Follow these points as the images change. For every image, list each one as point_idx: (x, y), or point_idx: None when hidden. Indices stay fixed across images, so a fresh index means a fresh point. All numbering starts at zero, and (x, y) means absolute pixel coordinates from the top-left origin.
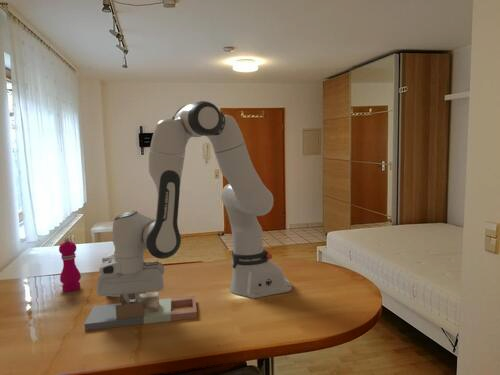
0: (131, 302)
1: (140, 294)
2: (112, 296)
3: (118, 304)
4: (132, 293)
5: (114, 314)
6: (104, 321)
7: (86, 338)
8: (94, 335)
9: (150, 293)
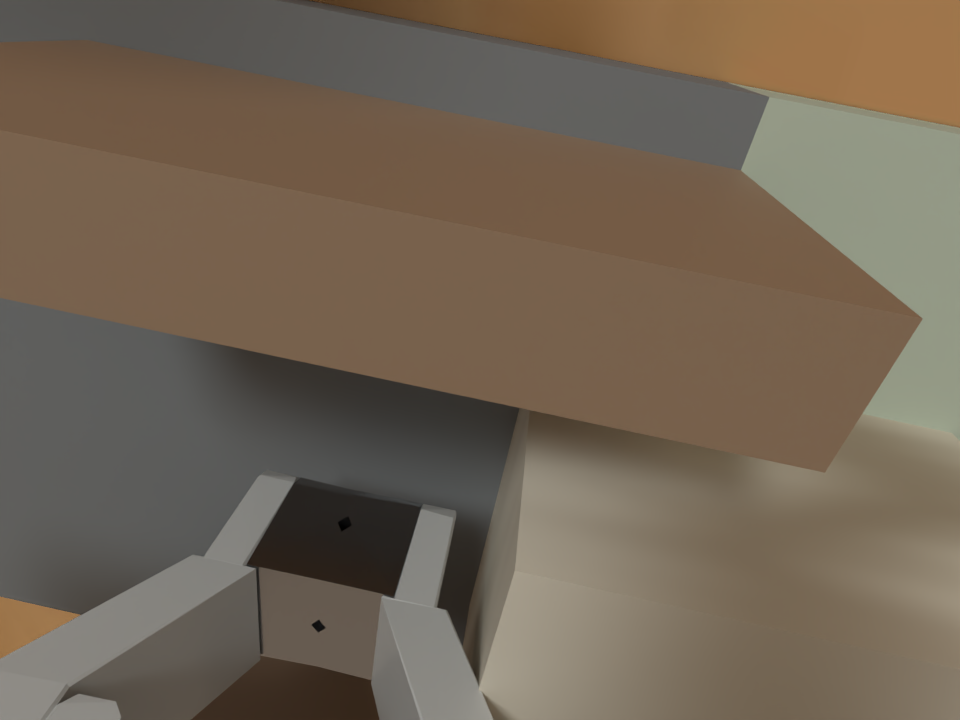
0: (313, 644)
1: (547, 622)
2: None
3: (4, 17)
4: (251, 334)
5: (104, 485)
6: (43, 602)
7: (7, 625)
8: (57, 612)
9: (898, 703)
